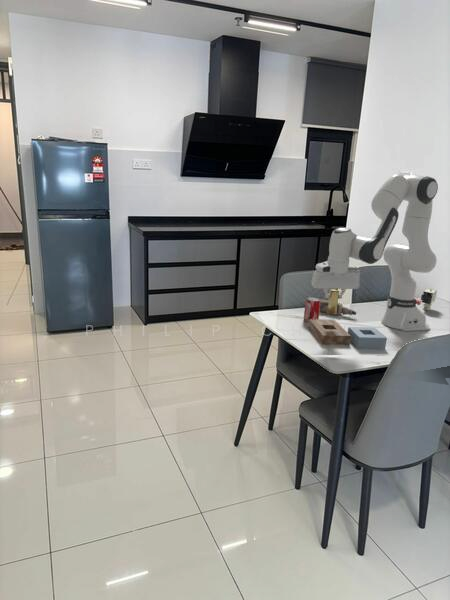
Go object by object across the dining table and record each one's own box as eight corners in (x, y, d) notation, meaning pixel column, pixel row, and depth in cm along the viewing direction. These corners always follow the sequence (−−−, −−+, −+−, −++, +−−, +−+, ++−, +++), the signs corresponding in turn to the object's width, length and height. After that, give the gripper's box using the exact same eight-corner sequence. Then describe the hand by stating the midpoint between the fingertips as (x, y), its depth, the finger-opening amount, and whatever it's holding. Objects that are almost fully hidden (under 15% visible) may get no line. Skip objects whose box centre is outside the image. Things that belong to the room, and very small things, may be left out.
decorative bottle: (304, 310, 232) (306, 297, 230) (310, 306, 238) (311, 295, 236) (353, 321, 219) (355, 308, 217) (357, 317, 225) (359, 305, 223)
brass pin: (334, 311, 193) (337, 289, 190) (337, 314, 190) (340, 292, 187) (325, 311, 193) (328, 289, 190) (328, 314, 189) (331, 291, 186)
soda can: (317, 326, 208) (321, 302, 205) (302, 324, 210) (305, 300, 206) (318, 321, 215) (321, 297, 212) (303, 319, 216) (306, 296, 213)
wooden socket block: (332, 329, 205) (334, 319, 203) (349, 346, 186) (350, 335, 184) (307, 329, 203) (309, 319, 202) (321, 346, 184) (323, 335, 183)
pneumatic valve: (433, 308, 249) (438, 288, 245) (428, 312, 240) (432, 291, 237) (423, 306, 252) (427, 286, 249) (417, 310, 243) (421, 289, 240)
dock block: (372, 340, 195) (374, 327, 193) (384, 351, 184) (387, 337, 182) (346, 339, 194) (348, 326, 192) (357, 350, 182) (359, 337, 181)
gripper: (358, 265, 189) (353, 296, 194) (312, 264, 187) (308, 295, 191) (364, 269, 183) (359, 300, 188) (316, 268, 181) (313, 300, 185)
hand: (333, 298), depth 189 cm, fingers closed on brass pin, 4 cm apart
